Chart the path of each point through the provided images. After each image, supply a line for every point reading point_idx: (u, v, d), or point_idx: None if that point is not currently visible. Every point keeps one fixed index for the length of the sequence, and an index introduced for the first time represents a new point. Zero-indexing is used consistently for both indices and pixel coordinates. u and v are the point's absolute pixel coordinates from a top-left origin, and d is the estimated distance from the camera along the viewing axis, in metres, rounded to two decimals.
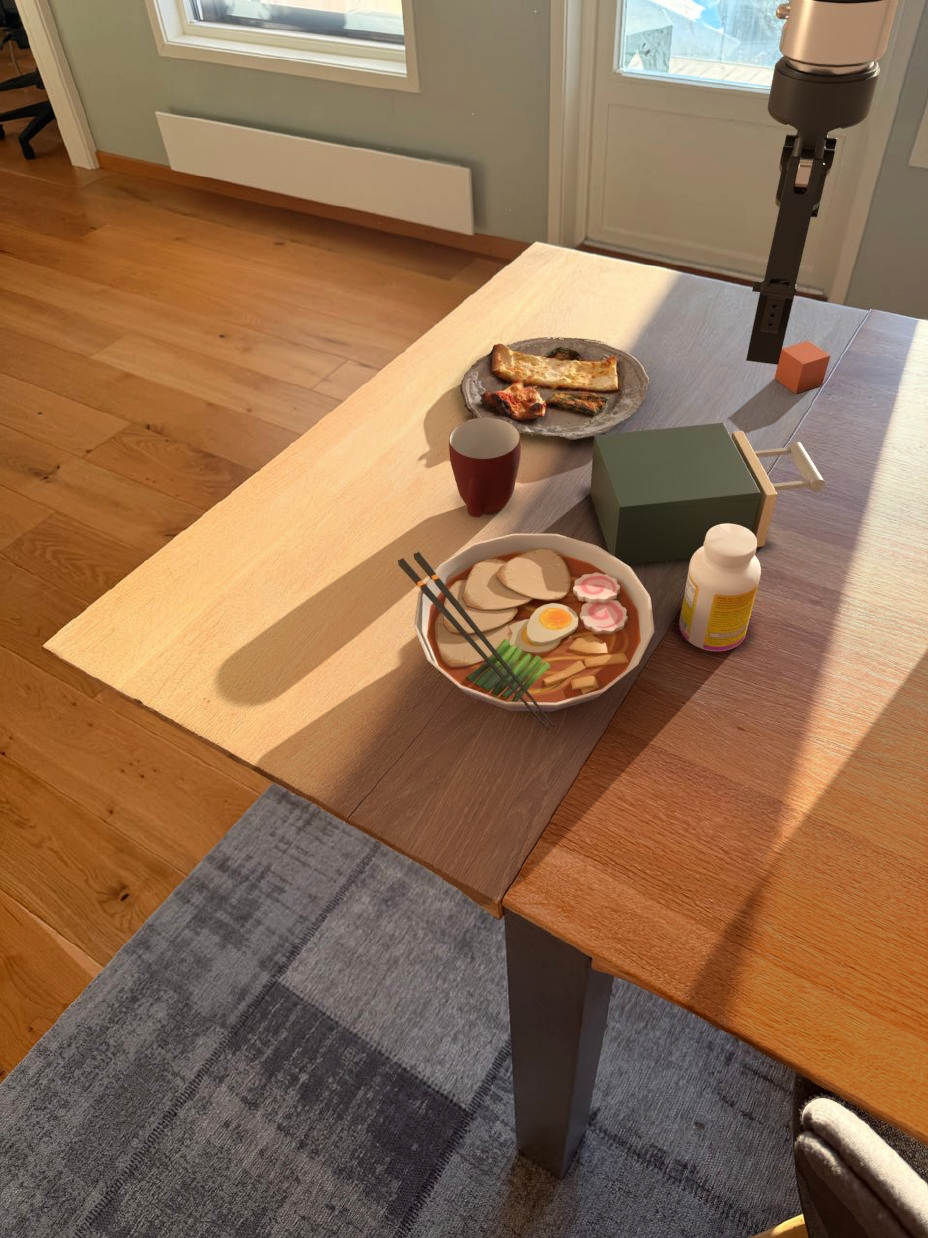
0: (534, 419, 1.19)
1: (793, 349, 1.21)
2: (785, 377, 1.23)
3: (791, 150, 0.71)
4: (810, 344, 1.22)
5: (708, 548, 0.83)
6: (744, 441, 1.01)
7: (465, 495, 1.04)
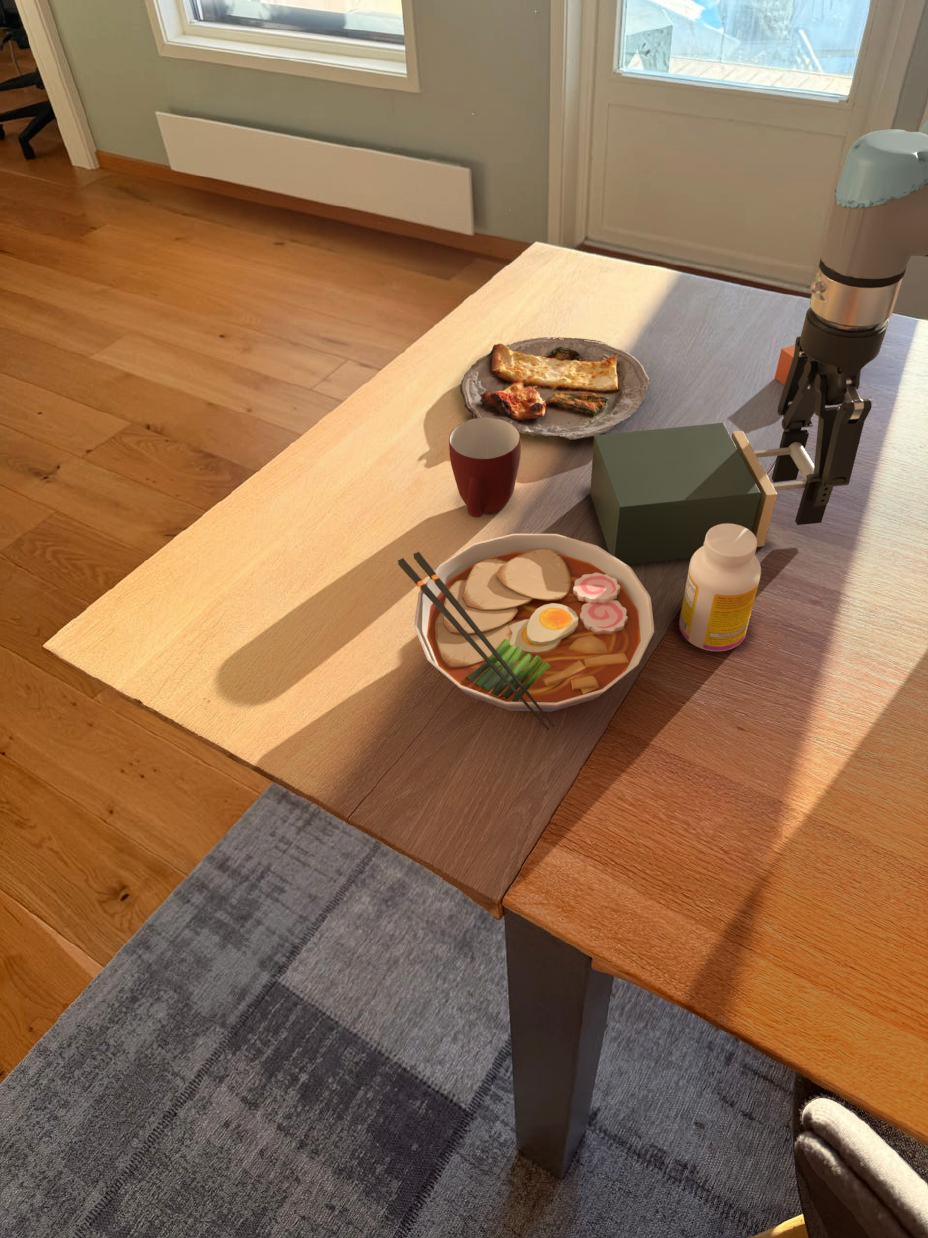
0: (534, 419, 1.19)
1: (793, 349, 1.21)
2: (785, 377, 1.23)
3: (827, 380, 0.90)
4: None
5: (708, 548, 0.83)
6: (744, 441, 1.01)
7: (465, 495, 1.04)
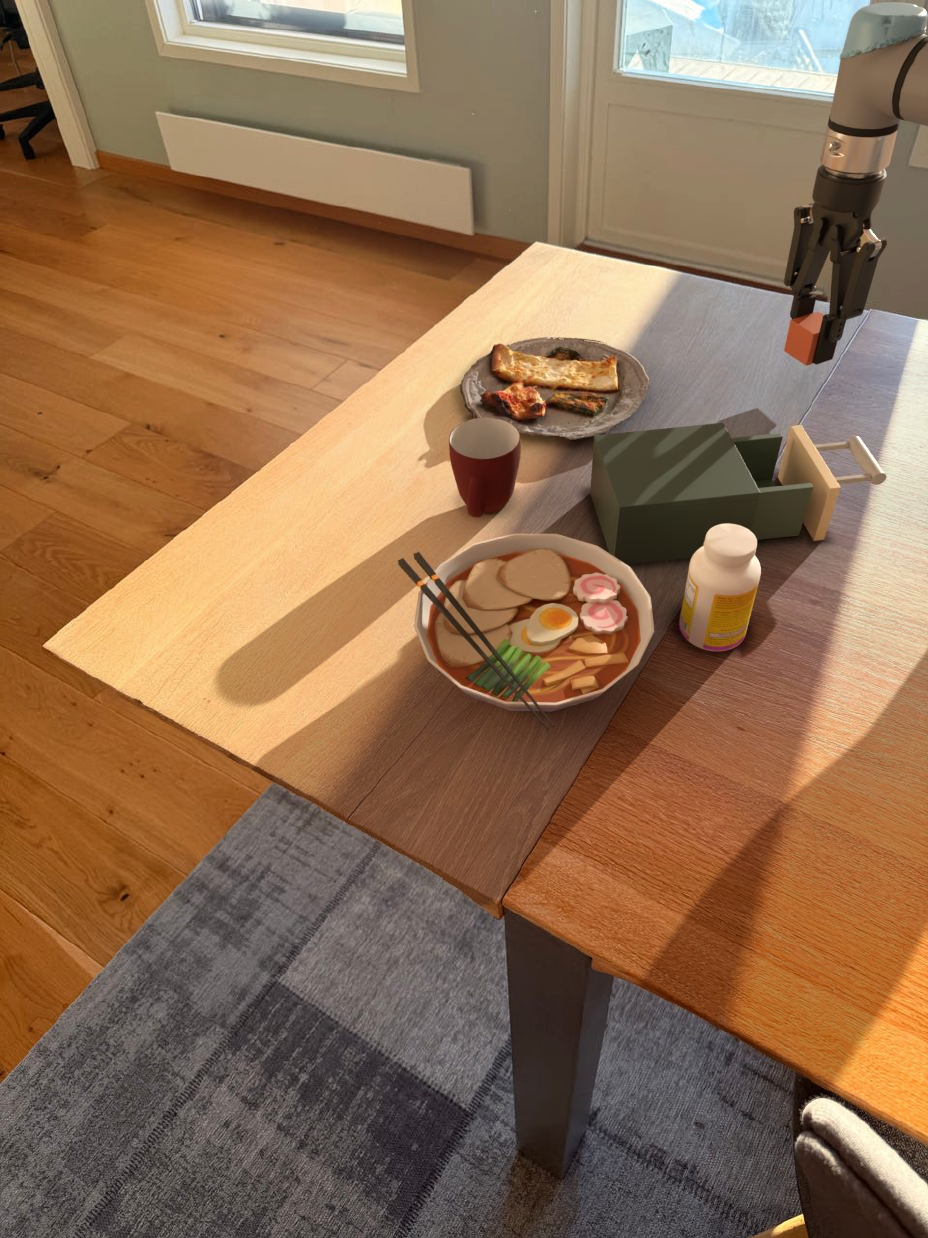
0: (534, 419, 1.19)
1: (803, 320, 1.18)
2: (795, 349, 1.19)
3: (842, 229, 1.06)
4: (820, 315, 1.18)
5: (708, 548, 0.83)
6: (803, 435, 1.02)
7: (465, 495, 1.04)
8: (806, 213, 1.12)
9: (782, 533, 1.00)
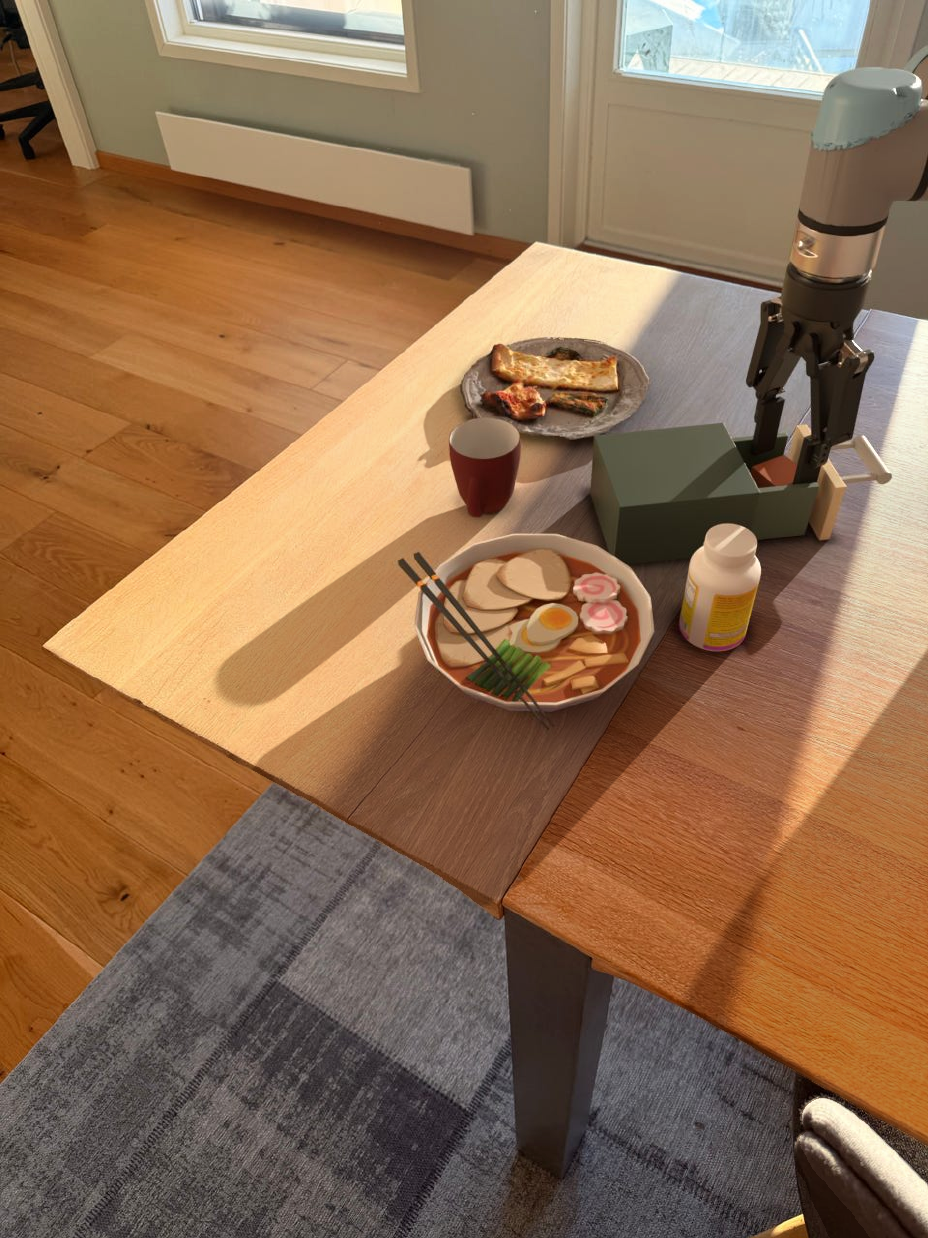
0: (534, 419, 1.19)
1: (766, 467, 1.01)
2: None
3: (817, 338, 0.86)
4: (786, 460, 1.01)
5: (708, 548, 0.83)
6: (809, 434, 1.02)
7: (465, 495, 1.04)
8: (775, 310, 0.91)
9: (788, 532, 1.00)
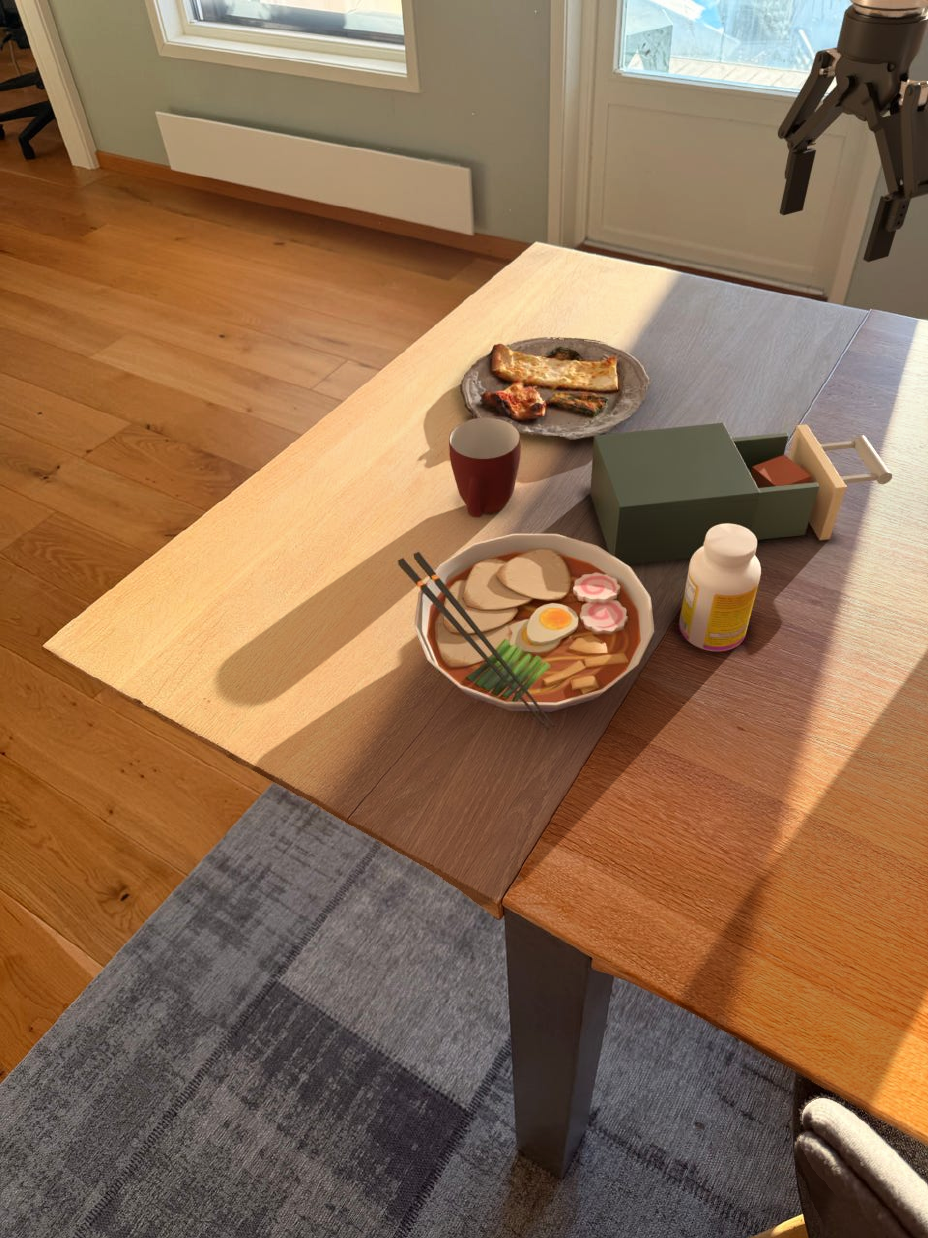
0: (534, 419, 1.19)
1: (767, 467, 1.01)
2: None
3: (872, 84, 0.87)
4: (787, 460, 1.01)
5: (708, 548, 0.83)
6: (809, 434, 1.02)
7: (465, 495, 1.04)
8: (829, 63, 0.92)
9: (788, 532, 1.00)
